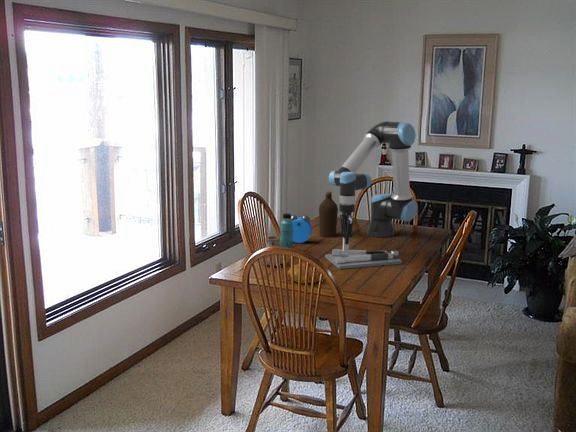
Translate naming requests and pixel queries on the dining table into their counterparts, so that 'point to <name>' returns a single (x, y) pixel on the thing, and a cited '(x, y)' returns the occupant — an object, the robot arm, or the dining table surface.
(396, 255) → the tongs fixed arm
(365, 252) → the tong arm
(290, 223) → the beverage bottle
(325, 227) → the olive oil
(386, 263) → the slate board
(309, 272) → the croissant
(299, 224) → the alarm clock
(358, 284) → the dining table surface
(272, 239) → the coffee pot
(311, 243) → the dining table surface
